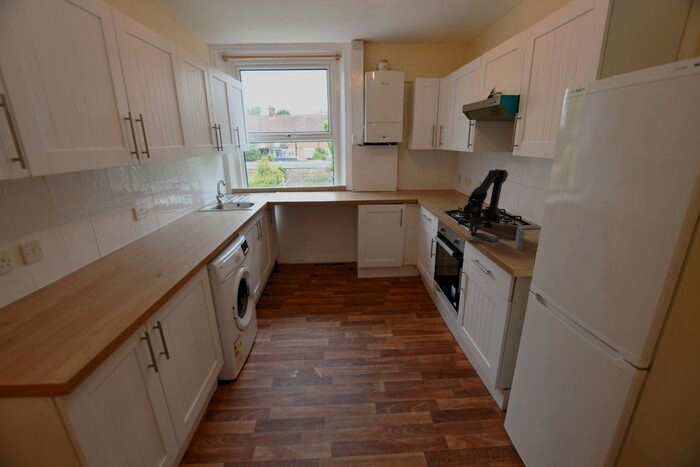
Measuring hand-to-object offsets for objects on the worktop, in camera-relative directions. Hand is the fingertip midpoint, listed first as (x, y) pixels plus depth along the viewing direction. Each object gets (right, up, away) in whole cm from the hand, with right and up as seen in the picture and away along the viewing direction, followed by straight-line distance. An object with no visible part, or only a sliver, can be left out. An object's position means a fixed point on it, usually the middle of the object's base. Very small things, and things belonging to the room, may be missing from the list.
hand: (472, 236), depth 182 cm
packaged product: (+7, -3, -1) cm, 8 cm away
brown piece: (+13, -3, -4) cm, 14 cm away
